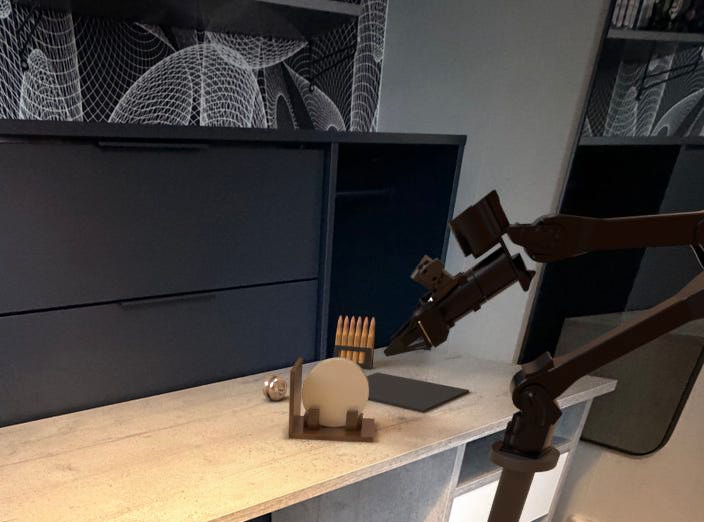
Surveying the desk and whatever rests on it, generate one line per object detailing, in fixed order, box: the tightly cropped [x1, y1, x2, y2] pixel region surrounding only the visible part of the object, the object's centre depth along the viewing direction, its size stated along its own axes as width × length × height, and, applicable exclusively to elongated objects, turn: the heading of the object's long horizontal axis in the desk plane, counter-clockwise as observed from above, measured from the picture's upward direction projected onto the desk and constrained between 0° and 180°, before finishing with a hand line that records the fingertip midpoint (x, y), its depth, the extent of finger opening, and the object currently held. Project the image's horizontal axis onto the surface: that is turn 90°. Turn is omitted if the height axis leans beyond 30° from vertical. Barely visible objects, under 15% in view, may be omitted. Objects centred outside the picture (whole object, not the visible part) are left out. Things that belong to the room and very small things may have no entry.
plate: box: [301, 357, 369, 427], centre depth 93 cm, size 12×2×12 cm, turn 75°
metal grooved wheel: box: [262, 374, 288, 402], centre depth 113 cm, size 5×3×5 cm, turn 129°
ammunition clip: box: [332, 315, 376, 370], centre depth 131 cm, size 11×2×12 cm, turn 54°
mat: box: [366, 372, 470, 414], centre depth 114 cm, size 24×18×1 cm
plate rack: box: [287, 357, 376, 443], centre depth 93 cm, size 15×10×12 cm, turn 75°
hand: (387, 347), depth 88 cm, fingers open, 9 cm apart
